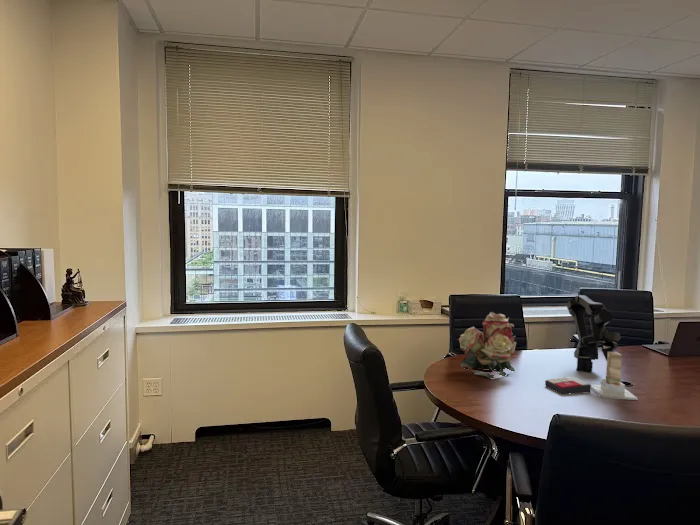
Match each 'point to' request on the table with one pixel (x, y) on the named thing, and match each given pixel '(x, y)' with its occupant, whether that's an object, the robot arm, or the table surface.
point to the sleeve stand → (613, 390)
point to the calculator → (568, 385)
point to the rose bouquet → (489, 345)
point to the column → (613, 367)
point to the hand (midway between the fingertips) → (602, 360)
